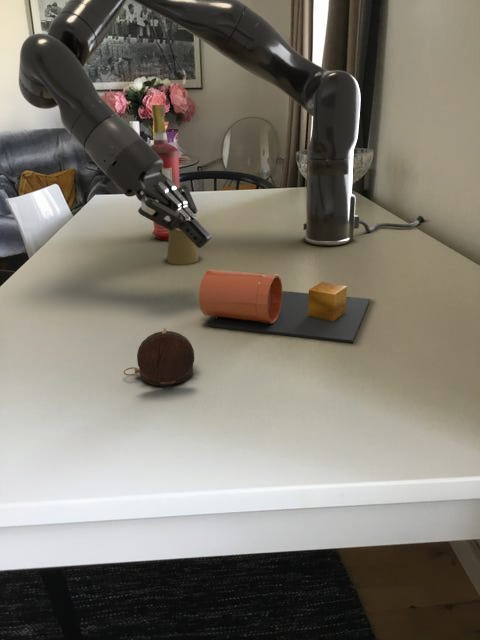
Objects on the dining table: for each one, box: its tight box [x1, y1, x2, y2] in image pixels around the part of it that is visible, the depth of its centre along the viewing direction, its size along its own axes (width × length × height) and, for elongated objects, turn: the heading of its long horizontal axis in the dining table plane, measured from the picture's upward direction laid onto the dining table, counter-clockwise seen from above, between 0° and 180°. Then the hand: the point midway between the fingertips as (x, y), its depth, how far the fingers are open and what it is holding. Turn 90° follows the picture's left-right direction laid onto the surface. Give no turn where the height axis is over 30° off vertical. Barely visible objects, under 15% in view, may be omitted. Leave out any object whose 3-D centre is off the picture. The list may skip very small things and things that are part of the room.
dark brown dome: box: [122, 327, 195, 386], centre depth 64 cm, size 8×8×7 cm
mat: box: [208, 290, 371, 344], centre depth 83 cm, size 20×16×1 cm
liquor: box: [149, 104, 180, 241], centre depth 122 cm, size 7×7×28 cm
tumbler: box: [198, 268, 283, 324], centre depth 79 cm, size 7×7×10 cm
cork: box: [166, 228, 199, 266], centre depth 108 cm, size 6×6×11 cm
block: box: [308, 281, 348, 321], centre depth 80 cm, size 4×4×4 cm
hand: (205, 243), depth 83 cm, fingers closed
